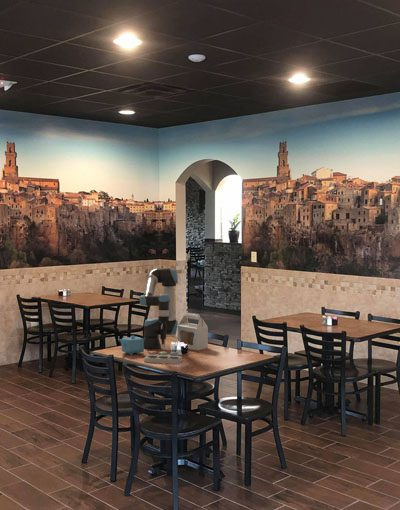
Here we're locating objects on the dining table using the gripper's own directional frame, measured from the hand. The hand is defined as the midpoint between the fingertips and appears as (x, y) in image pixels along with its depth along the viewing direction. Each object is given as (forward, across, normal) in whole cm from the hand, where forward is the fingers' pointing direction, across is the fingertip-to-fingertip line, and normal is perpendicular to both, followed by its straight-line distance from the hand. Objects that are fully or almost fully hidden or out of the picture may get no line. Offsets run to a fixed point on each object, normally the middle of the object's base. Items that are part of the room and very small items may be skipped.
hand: (163, 348), depth 465 cm
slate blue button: (+5, 0, +8) cm, 9 cm away
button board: (+10, 0, 0) cm, 10 cm away
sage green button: (+5, 0, 0) cm, 5 cm away
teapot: (+10, -20, -30) cm, 37 cm away
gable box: (+9, -58, +11) cm, 60 cm away
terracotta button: (+5, 0, -8) cm, 9 cm away
